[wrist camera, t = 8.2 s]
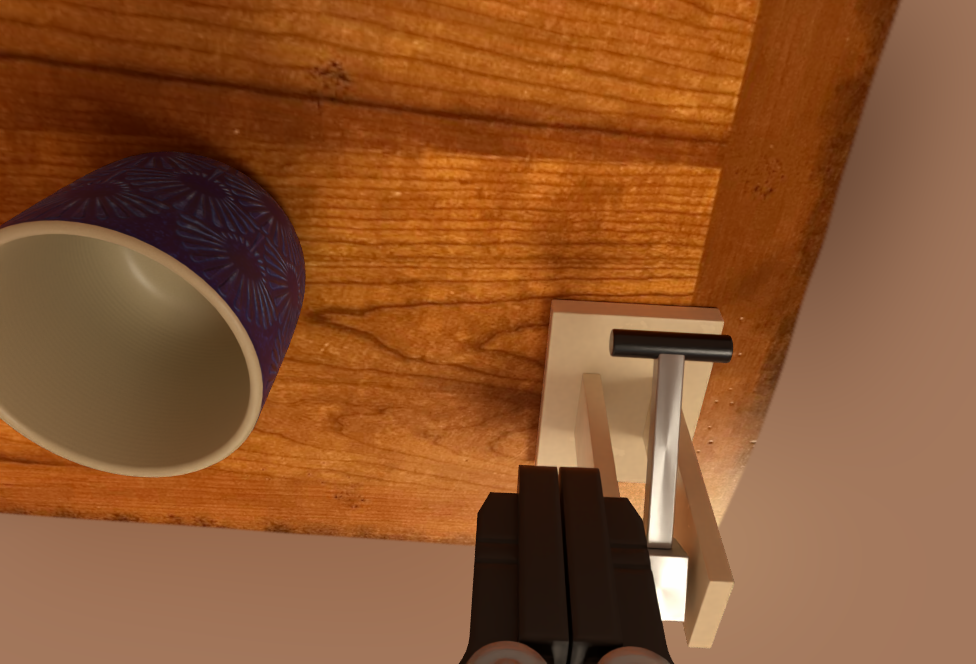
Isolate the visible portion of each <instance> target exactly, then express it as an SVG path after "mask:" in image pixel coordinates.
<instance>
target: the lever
mask: <svg viewBox="0 0 976 664" xmlns="http://www.w3.org/2000/svg"><path fill="white" fill-rule="evenodd" d="M609 352H610V355H611V356H612V357H626V358H644V359H654V365H653V380H652V395H651V410H650V426H649V441H648V456H647V471H646V486H645V502H644V517H643V525H644V530H645V535H646V541H647V550H648V551H649V556H650V561H651V570H652V572H653V577H654V582H655V588H656V593H657V598H658V603H659V608H660V614H661V619H662V621H676V622H685V614H686V599H687V584H688V570H689V556H688V555H687V553H686V552H685V551H684V549H683V548H682V547H681V545H680V544H679V543H678V541H677V540H676V539H675V538H673V526H674V511H675V497H676V482H677V467H678V452H679V437H680V423H681V408H682V393H683V378H684V363H685V361H698V362H715V363H728V362H730V360H731V357H732V353H733V342H732V338H731V336H729V335H720V334H702V333H684V332H666V331H648V330H630V329H612V331H611V333H610V339H609Z"/></svg>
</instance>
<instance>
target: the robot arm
mask: <svg viewBox="0 0 976 664" xmlns="http://www.w3.org/2000/svg"><path fill="white" fill-rule="evenodd" d="M459 664H674V663H673V661H672V659H671V657H670V655H669V652H668V648H667V645H666V640H665V635H664V629H663V624H662V619H661V614H660V608H659V603H658V598H657V593H656V588H655V582H654V577H653V572H652V570H651V561H650V556H649V551H648V550H647V541H646V535H645V530H644V525H643V520H642V518H641V517H640V516H639V514H638V513H637V511H636V510H635V508H634V507H633V506H632V504H631V503H630V501H629V500H628V498H622V497H603V490H602V483H601V476H600V471H599V468H585V467H560V468H559V473H558V469H557V467H555V466H530V465H519V469H518V485H517V493H494V492H490V494H489V495H488V497H487V499H486V500H485V502H484V504H483V505H482V507H481V509H480V510H479V512H478V515H477V531H476V546H475V563H474V578H473V593H472V609H471V623H470V637H469V644H468V647H467V650H466V652H465V654H464V656H463V658H462V660H461V661H460V663H459Z"/></svg>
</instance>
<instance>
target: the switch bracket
mask: <svg viewBox="0 0 976 664" xmlns="http://www.w3.org/2000/svg"><path fill="white" fill-rule="evenodd" d="M723 325H724V320H723V318H722V316H721V314H720V312H719V309H717V308H700V307H682V306H664V305H646V304H628V303H609V302H591V301H573V300H555V299H553V300H552V302H551V312H550V321H549V331H548V340H547V350H546V359H545V369H544V378H543V387H542V397H541V406H540V416H539V425H538V435H537V444H536V454H535V466H555V467H557V469H558V473H559V468H560V467H585V468H599V471H600V476H601V483H602V490H603V497H620V493H619V487H618V482H629V483H646V471H647V456H648V441H649V426H650V410H651V395H652V380H653V365H654V359H644V358H626V357H612V356H611V355H610V352H609V339H610V333H611V331H612V329H630V330H648V331H666V332H684V333H702V334H720V335H721V332H722V328H723ZM712 366H713V362H698V361H685V363H684V378H683V393H682V408H681V423H680V437H679V452H678V467H677V482H676V497H675V511H674V526H673V538H675V539H676V540H677V541H678V543H679V544H680V545H681V547H682V548H683V549H684V551H685V552H686V553H687V555H688V556H689V570H688V584H687V599H686V614H685V622H683V626H684V631H685V635H686V640H687V644H688V647H699V648H711V646H712V643H713V640H714V638H715V635H716V632H717V630H718V627H719V624H720V621H721V618H722V616H723V613H724V610H725V607H726V605H727V602H728V599H729V597H730V594H731V591H732V588H733V586H734V579H733V576H732V573H731V569H730V566H729V563H728V559H727V556H726V553H725V550H724V546H723V543H722V540H721V536H720V533H719V530H718V526H717V523H716V520H715V516H714V513H713V510H712V506H711V503H710V500H709V496H708V493H707V490H706V487H705V483H704V480H703V477H702V473H701V470H700V467H699V463H698V460H697V457H696V453H695V450H694V447H693V444H692V441H693V437H694V433H695V429H696V426H697V422H698V418H699V414H700V411H701V407H702V403H703V399H704V396H705V392H706V388H707V384H708V381H709V377H710V373H711V369H712Z"/></svg>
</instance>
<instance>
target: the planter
mask: <svg viewBox="0 0 976 664" xmlns="http://www.w3.org/2000/svg"><path fill="white" fill-rule="evenodd" d="M304 292H305V262H304V257H303V252H302V248H301V245H300V242H299V239H298V237H297V235H296V232H295V230H294V228H293V226H292V224H291V222H290V220H289V219H288V217H287V216H286V214H285V213H284V211H283V210H282V208H281V207H280V206H279V205H278V203H277V202H276V201H275V200H274V199H273V198H272V197H271V196H270V195H269V194H268V193H267V192H266V191H265V190H264V189H263V188H262V187H261V186H260V185H258V184H257V183H256V182H255V181H253V180H252V179H251V178H249V177H248V176H246V175H245V174H243V173H241V172H240V171H238V170H236V169H234V168H232V167H230V166H228V165H226V164H224V163H222V162H219V161H216V160H214V159H211V158H207V157H204V156H200V155H195V154H190V153H184V152H173V151H172V152H153V153H144V154H140V155H136V156H131V157H127V158H124V159H122V160H119V161H116V162H114V163H111V164H109V165H106V166H104V167H102V168H99V169H97V170H95V171H93V172H91V173H89V174H87V175H85V176H84V177H82V178H80V179H78V180H76V181H74V182H73V183H71V184H69V185H67V186H65V187H63V188H62V189H60V190H58V191H57V192H55V193H53V194H52V195H50V196H48V197H47V198H45V199H43V200H42V201H40V202H38V203H37V204H35V205H33V206H32V207H30V208H28V209H27V210H25V211H24V212H22V213H20V214H19V215H17V216H15V217H14V218H12V219H11V220H9V221H7V222H6V223H4V224H2V225H1V226H0V418H1V419H2V420H3V421H5V422H6V423H7V424H8V425H10V426H11V427H12V428H13V429H15V430H16V431H18V432H19V433H21V434H22V435H23V436H25V437H26V438H28V439H30V440H31V441H33V442H34V443H36V444H38V445H39V446H41V447H43V448H45V449H47V450H49V451H51V452H53V453H55V454H57V455H59V456H61V457H63V458H66V459H68V460H70V461H73V462H76V463H78V464H81V465H84V466H87V467H90V468H94V469H97V470H101V471H105V472H110V473H114V474H120V475H127V476H137V477H167V476H176V475H182V474H187V473H191V472H195V471H198V470H201V469H204V468H206V467H209V466H211V465H213V464H215V463H217V462H219V461H221V460H223V459H224V458H226V457H227V456H229V455H230V454H231V453H233V452H234V451H235V450H236V449H237V448H239V447H240V445H241V444H242V443H243V442H244V441H245V440H246V439H247V437H248V436H249V434H250V433H251V431H252V430H253V428H254V426H255V424H256V422H257V420H258V418H259V415H260V413H261V410H262V408H263V406H264V404H265V401H266V399H267V397H268V394H269V392H270V390H271V387H272V385H273V383H274V380H275V378H276V376H277V373H278V371H279V368H280V366H281V364H282V361H283V359H284V356H285V354H286V352H287V349H288V347H289V344H290V341H291V339H292V336H293V333H294V330H295V327H296V324H297V321H298V318H299V315H300V311H301V307H302V302H303V297H304Z"/></svg>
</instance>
